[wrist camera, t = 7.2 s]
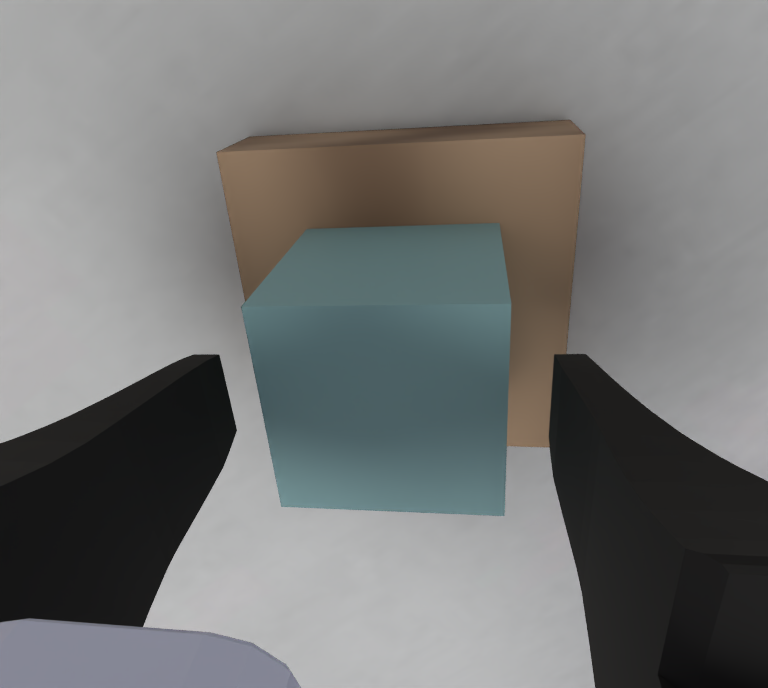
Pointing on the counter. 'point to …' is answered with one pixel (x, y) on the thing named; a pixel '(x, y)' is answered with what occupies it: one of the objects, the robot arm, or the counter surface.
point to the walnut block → (430, 217)
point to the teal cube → (386, 368)
